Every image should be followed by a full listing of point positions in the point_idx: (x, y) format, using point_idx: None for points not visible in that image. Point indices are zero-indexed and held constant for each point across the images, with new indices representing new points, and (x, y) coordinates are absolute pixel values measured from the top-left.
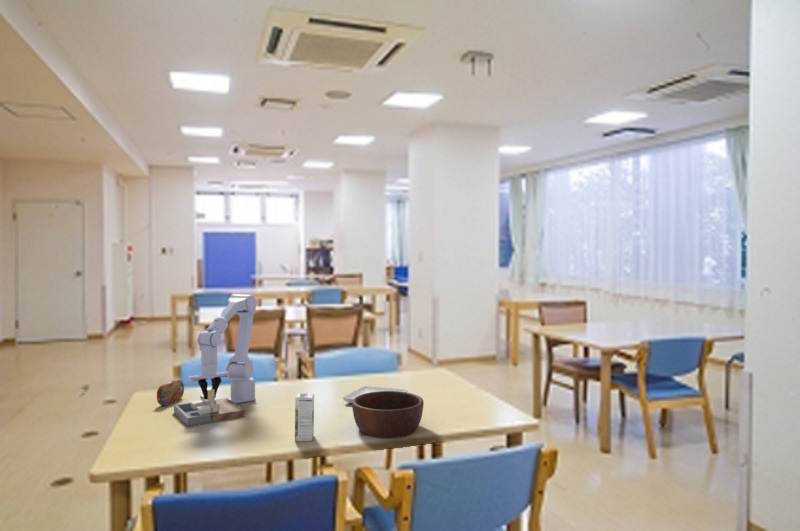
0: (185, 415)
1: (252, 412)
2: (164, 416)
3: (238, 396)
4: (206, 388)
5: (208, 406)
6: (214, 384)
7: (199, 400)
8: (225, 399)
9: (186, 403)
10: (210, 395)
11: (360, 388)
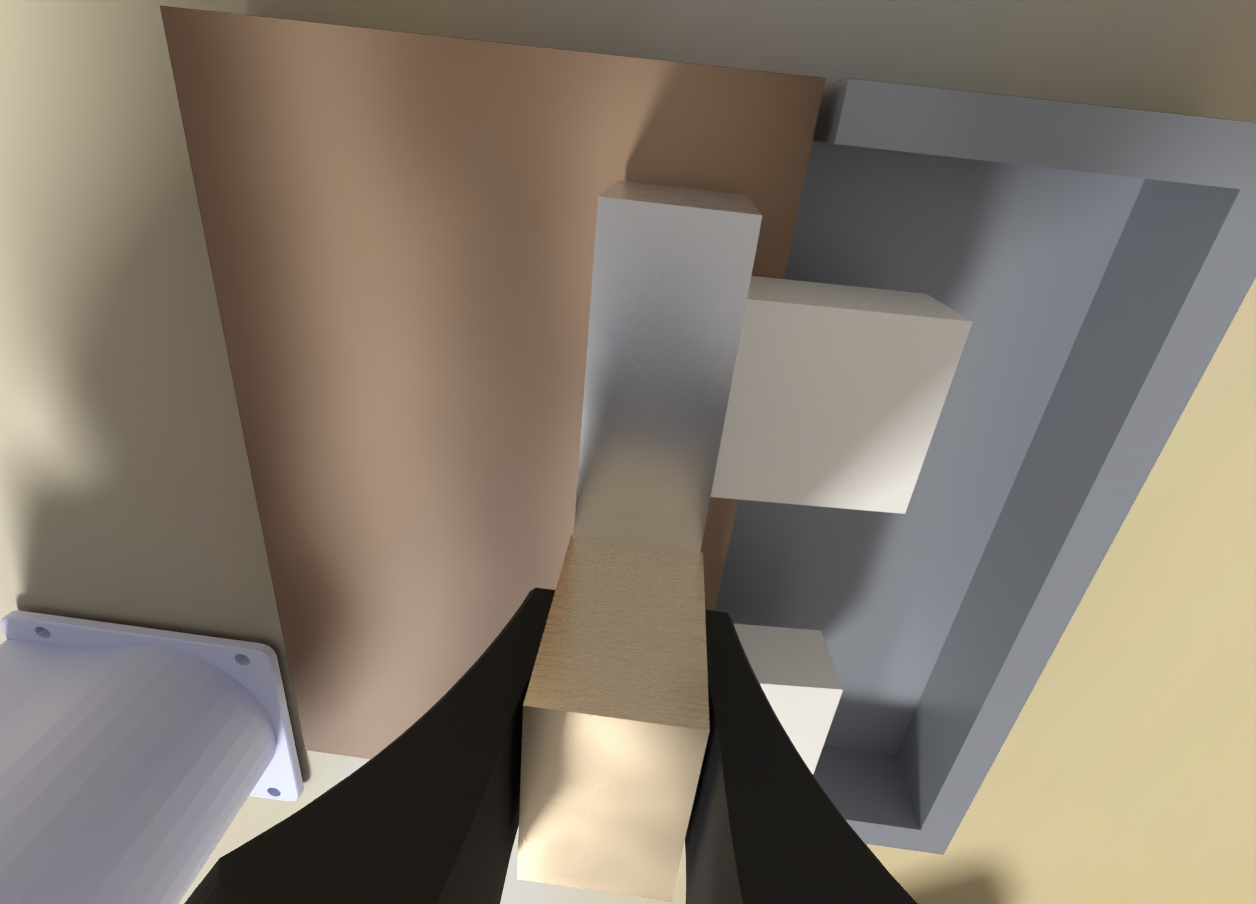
0: (1201, 354)
1: (89, 154)
2: (1056, 732)
3: (161, 708)
4: (745, 794)
5: (762, 382)
6: (473, 859)
7: None
8: (334, 711)
9: None
10: (645, 614)
11: None
